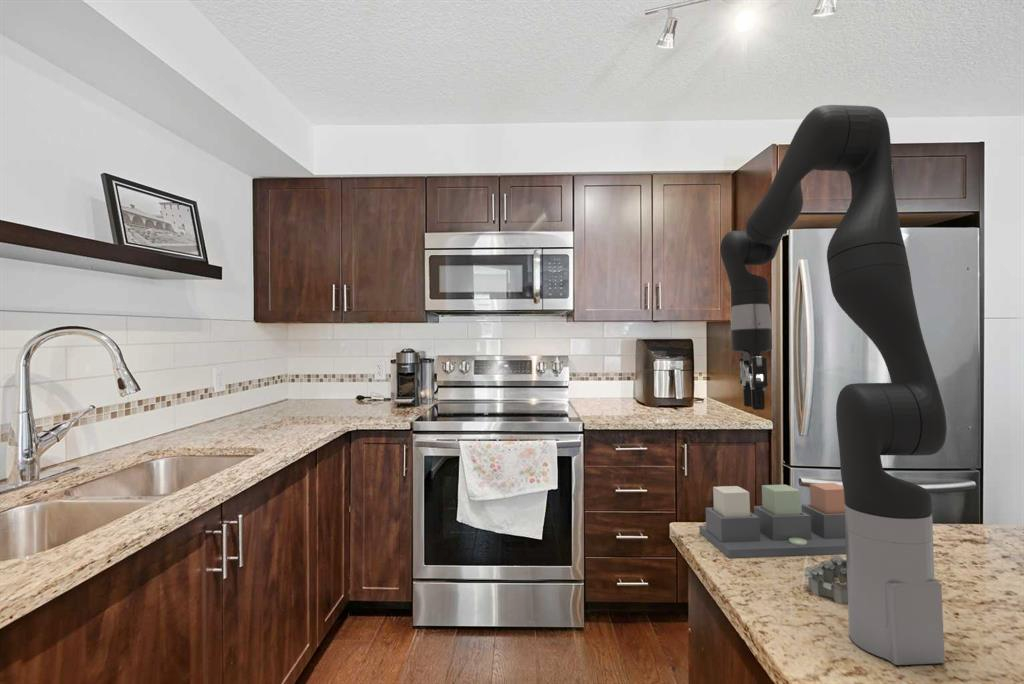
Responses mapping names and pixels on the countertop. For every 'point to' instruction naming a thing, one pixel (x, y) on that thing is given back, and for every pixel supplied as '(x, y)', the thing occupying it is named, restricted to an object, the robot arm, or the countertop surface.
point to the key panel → (776, 533)
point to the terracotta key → (827, 498)
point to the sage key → (781, 500)
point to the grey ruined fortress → (829, 579)
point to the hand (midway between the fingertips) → (753, 408)
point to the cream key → (731, 501)
